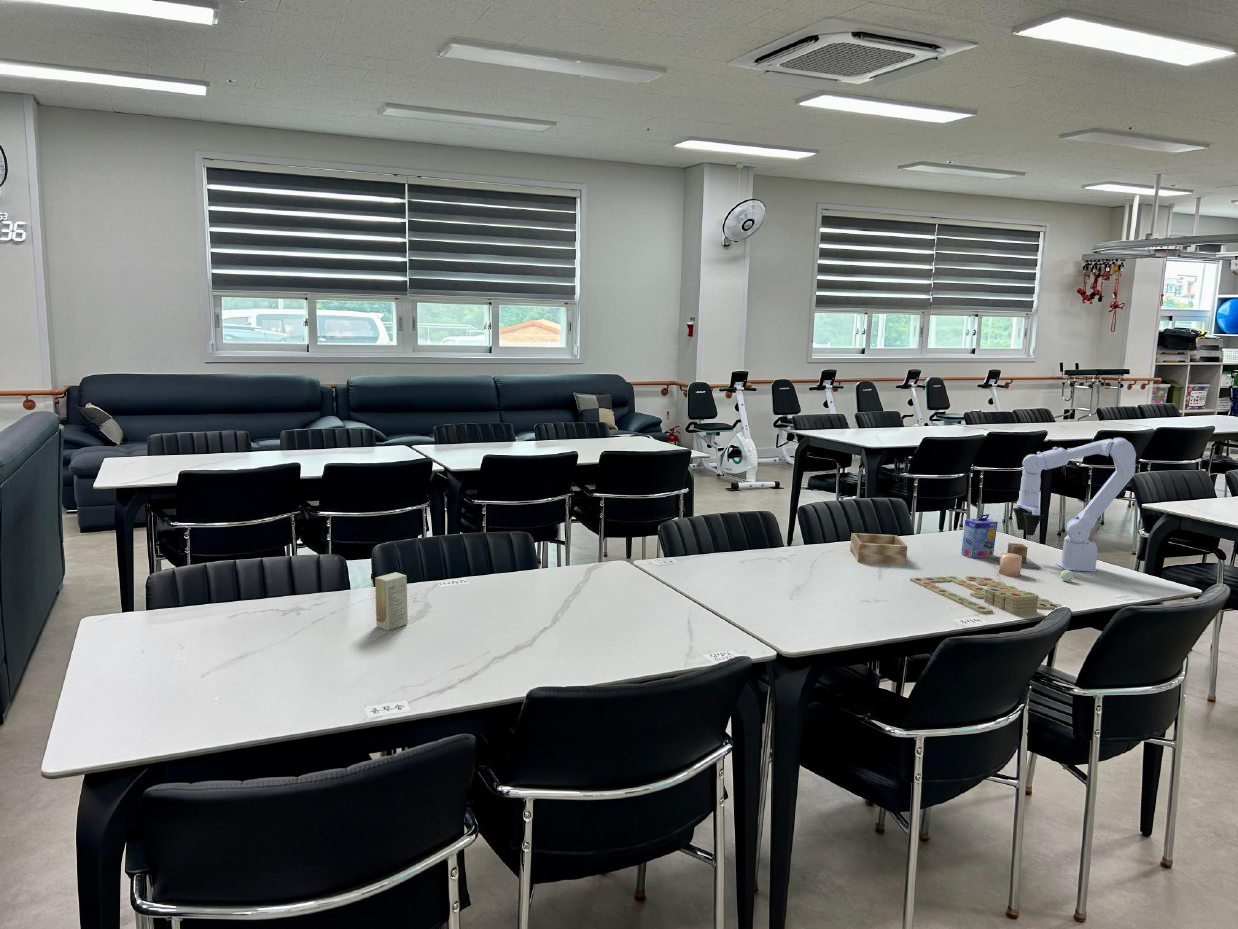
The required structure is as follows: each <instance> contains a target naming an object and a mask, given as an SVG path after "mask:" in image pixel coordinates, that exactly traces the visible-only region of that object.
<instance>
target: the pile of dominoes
mask: <svg viewBox="0 0 1238 929" xmlns="http://www.w3.org/2000/svg"><path fill="white" fill-rule="evenodd" d="M964 578H965V579H962V578H960V577H957V576H954V575H953V576H951V575H950V576H947V575H946V576H930V577H929V576H928V577H911V578H909V581H910V582H912V583H914V584H917V585H919V586H921V587H923V588H925V589H926V590H929V591H931V592H933V593H936V594H937V595H939V596H942V597H944V598H946V599H948V600H951V601H952V602H954V603H957V604H959V605H962V606H964V607H965V608H968V609H970V610H972V611H974V612H976V613H978V614H982V615H989V614H993V612H994V610H993V609H991V608H990V607H987V606H985V605H982V604H980V603H978V602H975V601H972V600H971V599H969V598H966V597H964V596H961V595H959V594H958V593H954V592H952V591H950V590H948V589H945V588H943V587H941V586H939V585H936V583H937V584H939V583H950V582H952V583H954V584H956V585H958V586H961V587H963V588H966V589H968V590H970V591H972V592H970V593H969V596H970V597H972V598H975V599H979V600H980V599H981V600H984V601H983V602H984V603H986V604H989V605H990V606H994V608H997V609H1000V610H1002V611H1004V612H1006V613H1008V614H1010V615H1013V616H1019V615H1021V616H1022V615H1031V614H1032V615H1033V613H1034V614H1037V612H1038V611H1037V610H1047V609H1048V610H1049V611H1051V610H1050V609H1052V610H1053V611H1054V609H1055V608H1058V607H1061V606H1063V605H1062V604H1060V603H1054V602H1052V601H1051V600H1049V599H1047V598H1041V597H1040V596H1039V595H1038V594H1037V593H1035V592H1032V591H1031V592H1030V591H1026V590H1021V589H1018V588H1017V587H1016V586H1013V585H1007V584H1006V583H1004V581H1003V582H1002V581H995V579H994V578H992V577H985V576H984V577H983V576H972V575H967V576H965V577H964ZM971 582H975V583H971ZM982 586H983V587H982ZM984 586H985V587H986V588H985V587H984ZM1048 610H1047V611H1048Z"/></svg>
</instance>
